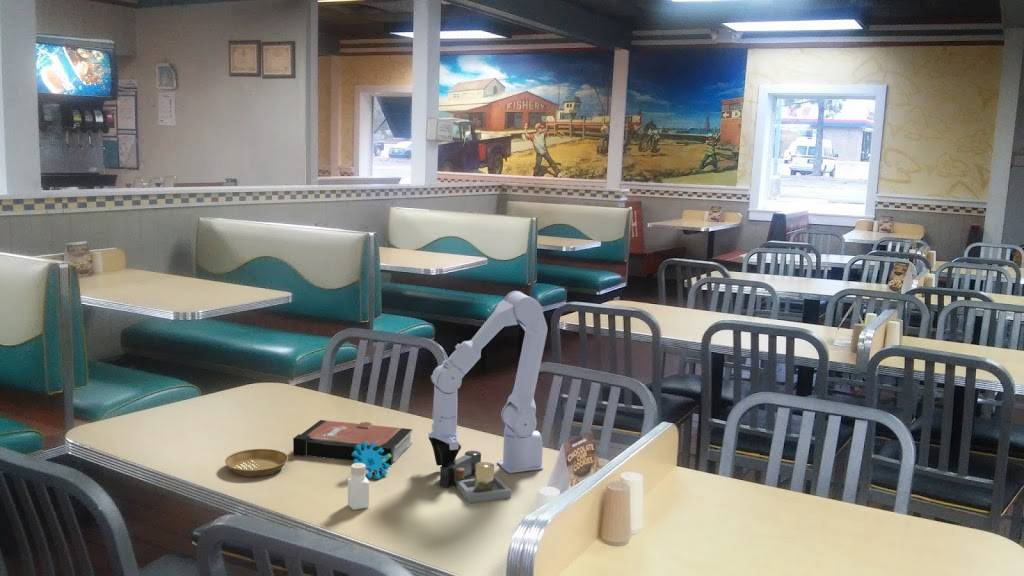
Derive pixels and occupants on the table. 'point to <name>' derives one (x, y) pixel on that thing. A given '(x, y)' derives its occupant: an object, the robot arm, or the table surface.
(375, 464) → the gear
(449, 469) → the crank
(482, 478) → the cylinder
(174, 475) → the table surface
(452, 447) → the robot arm
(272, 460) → the shallow brown basket
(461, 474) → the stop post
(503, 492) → the tray
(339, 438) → the book
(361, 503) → the salt shaker
